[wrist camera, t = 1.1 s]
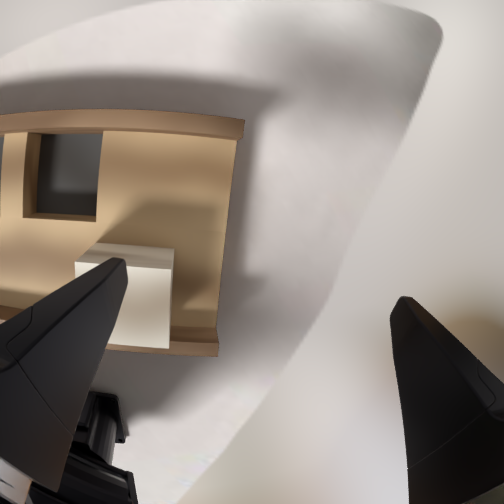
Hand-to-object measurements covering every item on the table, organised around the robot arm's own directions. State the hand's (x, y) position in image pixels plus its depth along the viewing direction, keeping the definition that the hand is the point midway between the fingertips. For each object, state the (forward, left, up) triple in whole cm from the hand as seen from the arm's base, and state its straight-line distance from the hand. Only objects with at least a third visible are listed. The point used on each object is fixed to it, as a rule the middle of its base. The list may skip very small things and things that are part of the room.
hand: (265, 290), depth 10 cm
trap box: (-1, +12, -12) cm, 17 cm away
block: (-4, +5, -10) cm, 12 cm away
